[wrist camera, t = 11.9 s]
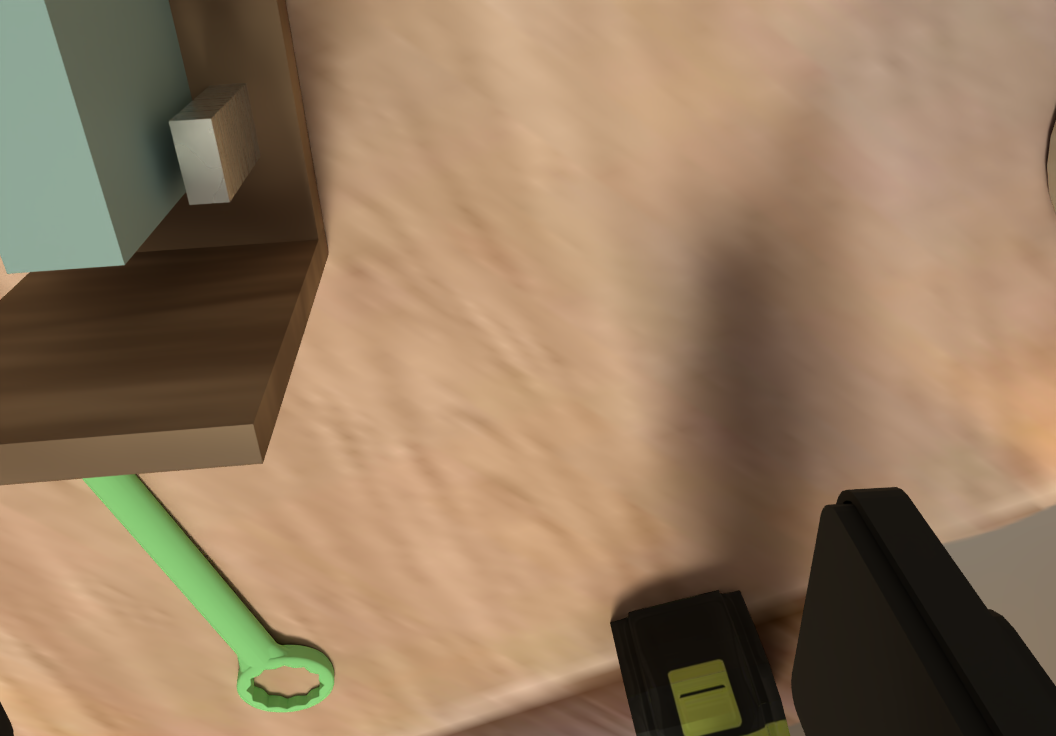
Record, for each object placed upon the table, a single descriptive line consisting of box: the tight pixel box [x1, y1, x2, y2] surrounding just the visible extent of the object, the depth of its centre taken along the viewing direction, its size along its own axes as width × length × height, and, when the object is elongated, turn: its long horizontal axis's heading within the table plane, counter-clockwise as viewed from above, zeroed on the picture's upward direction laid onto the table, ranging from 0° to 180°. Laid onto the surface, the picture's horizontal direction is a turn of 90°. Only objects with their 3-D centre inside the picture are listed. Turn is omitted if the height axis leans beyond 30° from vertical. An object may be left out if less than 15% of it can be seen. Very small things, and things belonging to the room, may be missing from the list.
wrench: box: [82, 474, 334, 712], centre depth 40 cm, size 25×2×5 cm
